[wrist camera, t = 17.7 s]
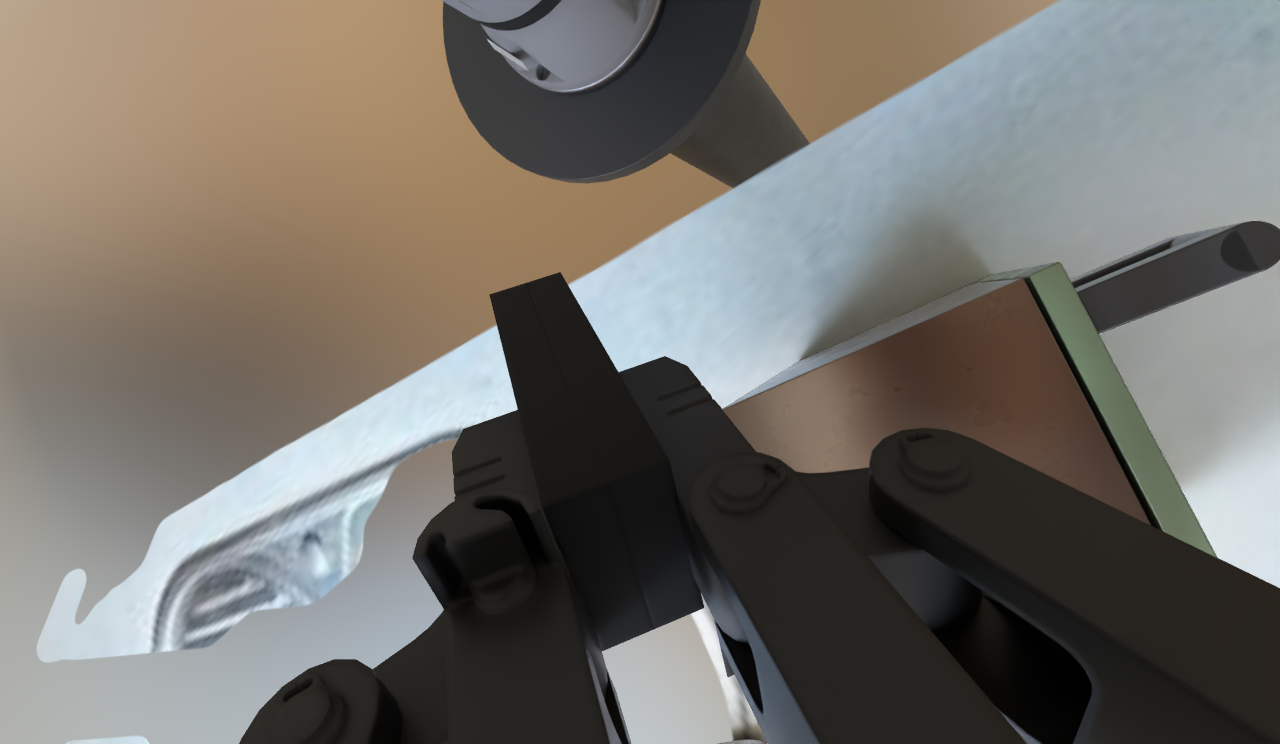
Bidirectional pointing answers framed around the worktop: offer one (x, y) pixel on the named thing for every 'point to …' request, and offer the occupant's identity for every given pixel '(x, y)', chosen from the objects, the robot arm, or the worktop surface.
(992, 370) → the cupboard
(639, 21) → the robot arm
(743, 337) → the worktop surface
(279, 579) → the worktop surface
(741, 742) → the digital clock
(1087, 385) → the door
